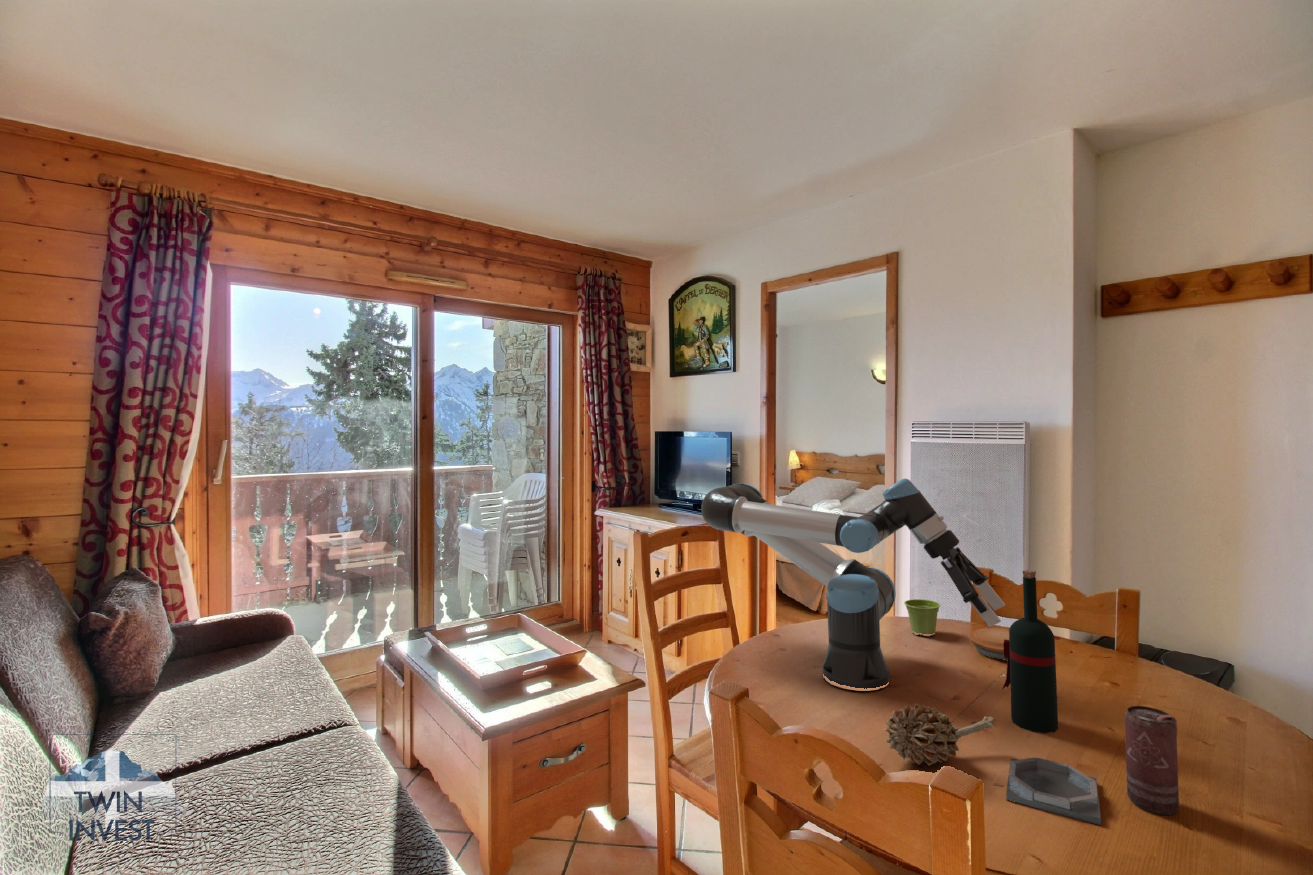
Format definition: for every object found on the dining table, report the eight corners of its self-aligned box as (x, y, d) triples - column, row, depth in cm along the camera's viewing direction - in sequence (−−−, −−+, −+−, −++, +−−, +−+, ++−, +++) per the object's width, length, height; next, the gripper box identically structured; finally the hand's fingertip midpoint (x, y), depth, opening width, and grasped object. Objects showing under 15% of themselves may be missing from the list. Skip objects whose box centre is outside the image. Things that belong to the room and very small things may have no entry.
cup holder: (1006, 800, 94) (1005, 786, 94) (1011, 763, 104) (1010, 750, 104) (1101, 825, 87) (1100, 810, 87) (1096, 783, 97) (1096, 770, 97)
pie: (981, 638, 165) (980, 620, 165) (1046, 652, 154) (1045, 632, 154) (959, 653, 155) (958, 634, 155) (1027, 669, 143) (1026, 649, 143)
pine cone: (911, 785, 99) (909, 725, 99) (873, 756, 108) (871, 701, 108) (1012, 758, 106) (1010, 702, 106) (968, 733, 115) (966, 681, 115)
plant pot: (899, 629, 175) (898, 599, 175) (930, 627, 175) (929, 597, 175) (915, 640, 165) (914, 609, 165) (948, 638, 166) (947, 606, 166)
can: (1191, 818, 88) (1187, 723, 88) (1141, 814, 90) (1138, 721, 89) (1165, 793, 94) (1162, 705, 94) (1119, 790, 96) (1116, 703, 95)
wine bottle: (1018, 706, 125) (1013, 562, 125) (1067, 727, 116) (1062, 572, 115) (991, 714, 122) (986, 567, 122) (1040, 736, 113) (1034, 577, 112)
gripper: (940, 537, 131) (1009, 623, 124) (956, 521, 152) (1015, 594, 145) (911, 555, 135) (977, 639, 128) (931, 536, 155) (988, 608, 149)
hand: (997, 615), depth 137 cm, fingers open, 13 cm apart
